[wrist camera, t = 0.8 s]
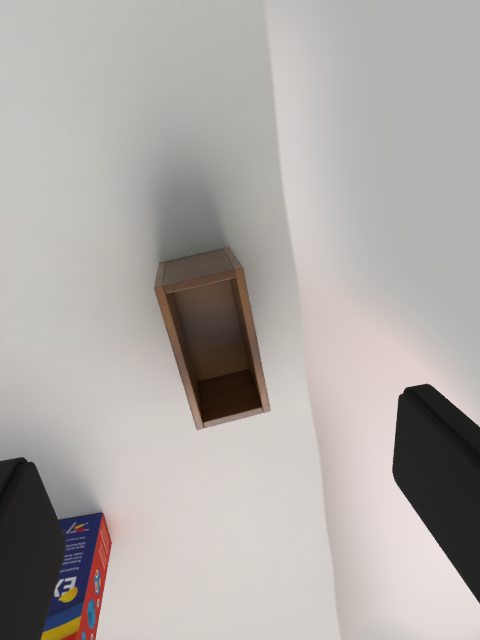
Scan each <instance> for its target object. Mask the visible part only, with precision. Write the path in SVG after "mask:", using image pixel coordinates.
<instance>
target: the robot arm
mask: <svg viewBox="0 0 480 640" xmlns="http://www.w3.org/2000/svg"><path fill="white" fill-rule="evenodd" d="M392 470H393V476H394V479H395V481H396V483H397V485H398V486H399V488H400V489H401V491H402V492H403V494H404V495H405V497H406V498H407V499H408V501H409V502H410V503H411V505H412V507H413V508H414V510H415V511H416V512H417V514H418V515H419V516H420V518H421V520H422V521H423V522H424V524H425V525H426V527H427V528H428V530H429V531H430V532H431V534H432V535H433V537H434V538H435V540H436V541H437V543H438V544H439V546H440V547H441V548H442V550H443V551H444V553H445V554H446V555H447V557H448V558H449V560H450V561H451V563H452V564H453V566H454V567H455V568H456V570H457V571H458V573H459V574H460V576H461V577H462V579H463V580H464V582H465V583H466V584H467V586H468V587H469V589H470V590H471V592H472V593H473V594H474V596H475V597H476V599H477V600H478V602H479V603H480V427H479V426H478V425H477V424H475V423H474V422H473V421H472V420H471V419H470V418H469V417H467V416H466V415H465V414H464V413H463V412H462V411H460V410H459V409H458V408H457V407H456V406H454V405H453V404H452V403H451V402H450V401H449V400H448V399H446V398H445V397H444V396H443V395H442V394H441V393H440V392H438V391H437V390H436V389H435V388H434V387H432V386H431V385H429V384H423V385H418V386H412V387H407V388H405V390H404V393H403V394H401V395H400V396H399V399H398V410H397V422H396V433H395V446H394V457H393V468H392ZM65 552H66V539H65V536H64V533H63V531H62V528H61V526H60V524H59V521H58V519H57V516H56V514H55V511H54V509H53V507H52V504H51V502H50V499H49V497H48V494H47V492H46V490H45V487H44V485H43V482H42V480H41V477H40V475H39V473H38V470H37V468H36V466H35V464H34V463H33V462H27V460H26V459H25V458H22V457H21V458H15V459H10V460H4V461H0V640H41V637H42V634H43V630H44V627H45V623H46V620H47V616H48V613H49V609H50V606H51V602H52V599H53V595H54V592H55V588H56V585H57V581H58V578H59V574H60V570H61V567H62V563H63V560H64V556H65Z"/></svg>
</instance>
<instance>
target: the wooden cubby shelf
mask: <svg viewBox="0 0 480 640" xmlns="http://www.w3.org/2000/svg"><path fill="white" fill-rule="evenodd" d="M154 290H155V293H156V296H157V299H158V303H159V306H160V309H161V313H162V316H163V319H164V323H165V326H166V329H167V333H168V336H169V339H170V342H171V346H172V349H173V352H174V356H175V359H176V362H177V366H178V369H179V372H180V376H181V379H182V382H183V385H184V389H185V392H186V395H187V399H188V402H189V405H190V409H191V412H192V415H193V419H194V422H195V425H196V428H197V430H199V429H203V428H207V427H211V426H214V425H218V424H222V423H226V422H230V421H234V420H238V419H241V418H245V417H249V416H253V415H257V414H261V413H263V412H264V413H265V412H269V411H270V405H269V400H268V394H267V389H266V384H265V379H264V374H263V369H262V363H261V358H260V353H259V348H258V343H257V338H256V333H255V327H254V322H253V317H252V312H251V307H250V302H249V296H248V291H247V286H246V281H245V276H244V271H243V267H242V266H241V264H240V263H239V261H238V259H237V258H236V256H235V255H234V253H233V252H232V250H231V249H230V247H228V248H224V249H219V250H215V251H211V252H206V253H202V254H197V255H193V256H189V257H184V258H180V259H175V260H171V261H167V262H162V263H159V265H158V270H157V276H156V282H155V287H154Z"/></svg>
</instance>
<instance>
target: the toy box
mask: <svg viewBox="0 0 480 640" xmlns="http://www.w3.org/2000/svg"><path fill="white" fill-rule="evenodd" d="M58 521H59V524H60V526H61V528H62V531H63V533H64V536H65V539H66V552H65V556H64V560H63V563H62V567H61V570H60V574H59V578H58V581H57V585H56V588H55V592H54V595H53V599H52V602H51V606H50V609H49V613H48V616H47V620H46V623H45V627H44V630H43V634H42V637H41V640H95V638H96V632H97V626H98V620H99V614H100V608H101V602H102V597H103V591H104V585H105V579H106V573H107V567H108V561H109V555H110V549H111V544H112V543H111V539H110V536H109V533H108V529H107V526H106V522H105V519H104V515H103V513H98V514H93V515H87V516H81V517H75V518H70V519H64V520H58Z"/></svg>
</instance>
